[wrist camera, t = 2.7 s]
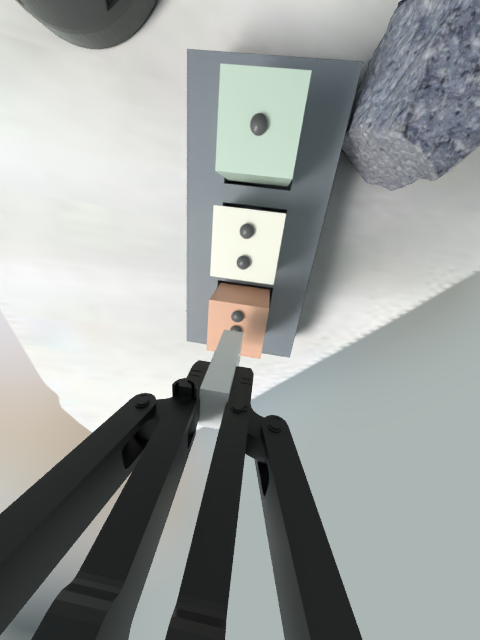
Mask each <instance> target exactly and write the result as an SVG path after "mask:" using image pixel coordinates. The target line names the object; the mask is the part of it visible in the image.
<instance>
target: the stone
mask: <svg viewBox="0 0 480 640" xmlns="http://www.w3.org/2000/svg"><path fill="white" fill-rule="evenodd" d="M479 145H480V0H402V1H400V2H399V3H398V7H397V9H396V10H395V12H394V14H393V16H392V17H391V19H390V22H389V25H388V28H387V31H386V33H385V35H384V37H383V38H382V40H381V42H380V44H379V45H378V47H377V48H376V50H375V52H374V54H373V57H372V58H371V60H370V61H369V65H368V69H367V71H366V73H365V75H364V79H363V81H362V83H361V86H360V88H359V90H358V92H357V94H356V96H355V98H354V100H353V104H352V108H351V112H350V116H349V120H348V125H347V129H346V133H345V137H344V141H343V145H342V150H343V151H344V152H345V153H346V155H347V156H348V157H349V159H350V161H351V163H352V164H353V165H354V166H355V167H356V169H357V171H358V172H359V173H360V174H361V175H362V177H363V178H364V180H365V182H367V183H371V184H375V185H381V186H383V187H386V188H388V189H389V190H390V191H393V190H395V189H397V188H399V187H400V188H403V187H404V186H406V185H409V184H412V183H413V182H415V181H416V180H418V179H419V178H423V179H429V180H431V181H434V180H437V179H438V178H439V177H441V176H442V175H444V174H445V173H446V172H448V171H449V170H450V169H452V168H453V167H454V166H456V165H457V164H458V163H459V162H460V161H462V160H463V159H464V158H465V157H466V156H468V155H469V154H470V153H471V152H472V151H473V150H474V149H475V148H476V147H477V146H479Z"/></svg>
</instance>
